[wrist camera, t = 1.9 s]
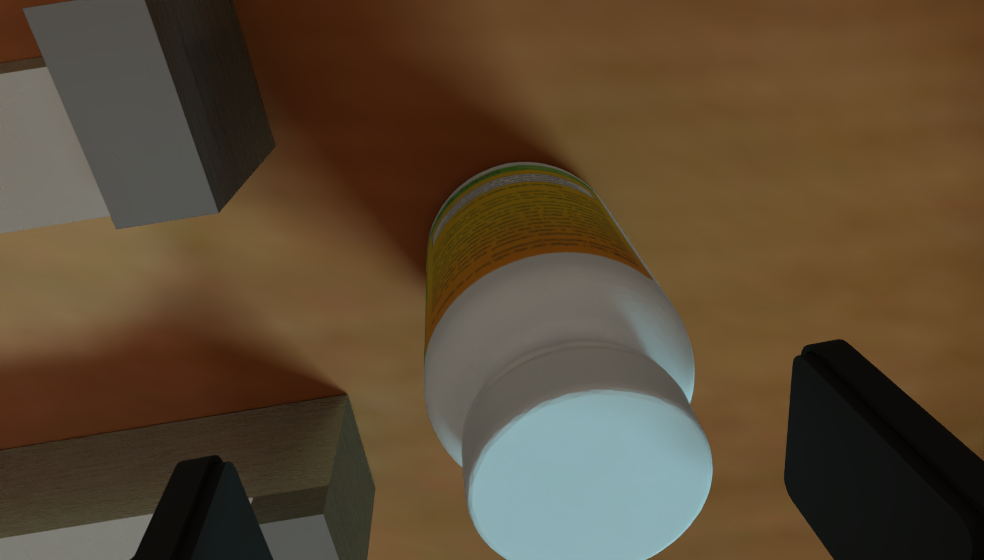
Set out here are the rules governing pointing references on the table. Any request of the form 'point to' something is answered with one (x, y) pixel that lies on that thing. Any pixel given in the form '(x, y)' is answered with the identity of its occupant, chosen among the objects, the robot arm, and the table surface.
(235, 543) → the robot arm
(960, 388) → the table surface
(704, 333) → the table surface
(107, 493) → the channel bracket
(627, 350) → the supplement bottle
